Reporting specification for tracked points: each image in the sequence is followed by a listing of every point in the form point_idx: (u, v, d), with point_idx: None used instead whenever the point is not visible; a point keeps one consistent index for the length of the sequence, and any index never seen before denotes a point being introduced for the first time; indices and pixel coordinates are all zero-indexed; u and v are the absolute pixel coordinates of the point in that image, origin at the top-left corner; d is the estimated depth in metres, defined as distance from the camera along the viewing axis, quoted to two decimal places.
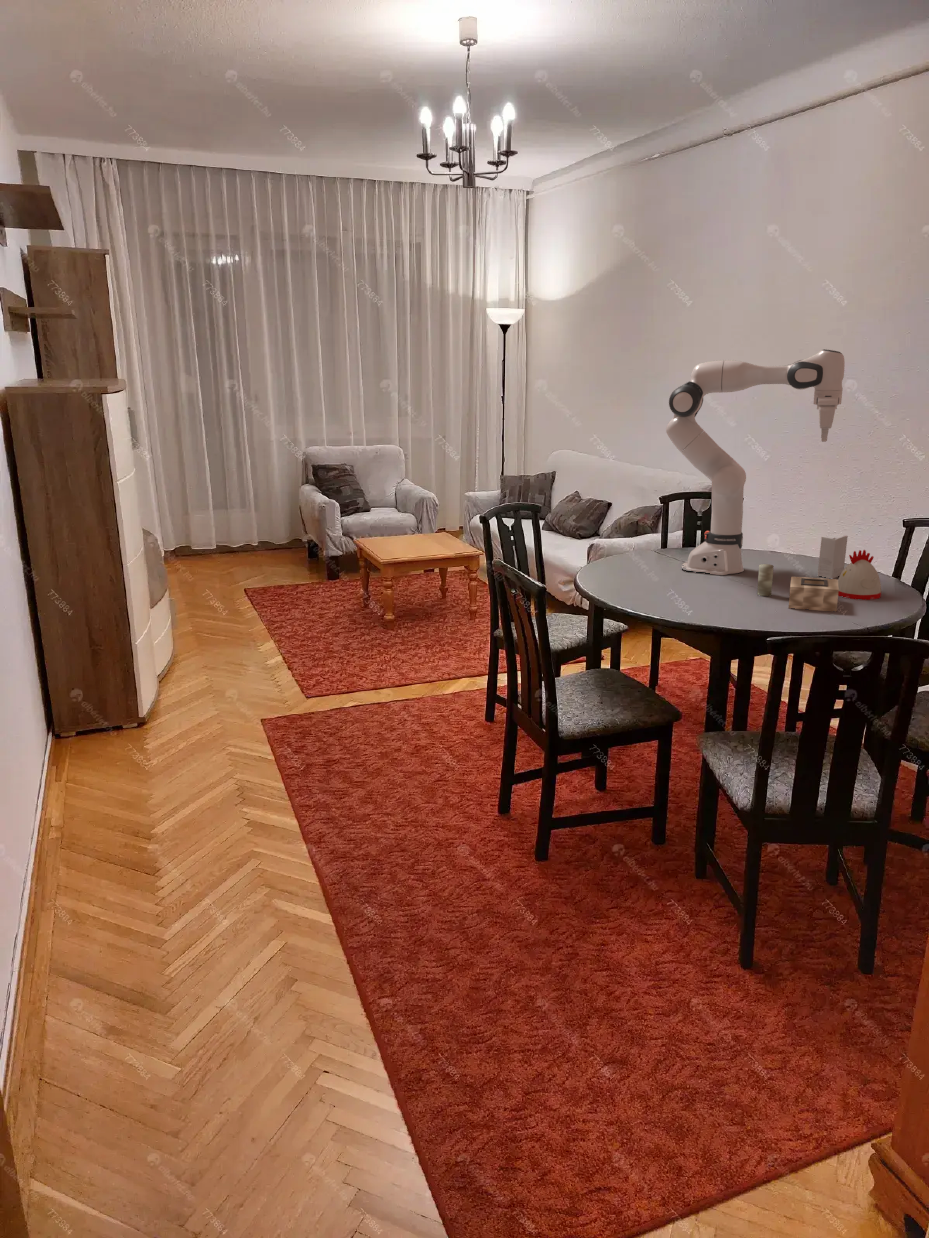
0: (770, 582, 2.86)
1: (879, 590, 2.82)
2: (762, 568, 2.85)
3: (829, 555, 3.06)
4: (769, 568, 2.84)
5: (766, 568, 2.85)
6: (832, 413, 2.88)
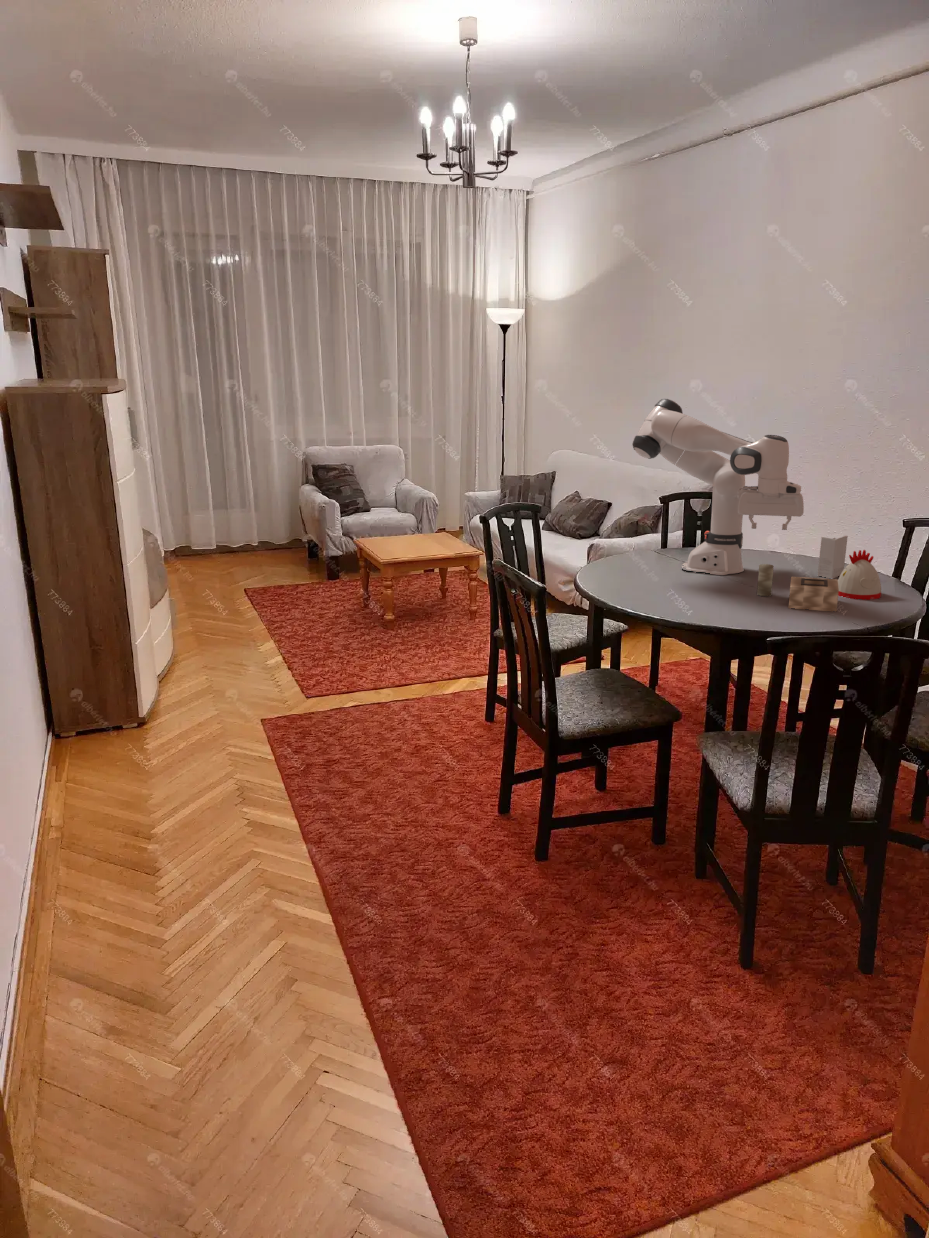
0: (770, 582, 2.86)
1: (879, 590, 2.82)
2: (762, 568, 2.85)
3: (829, 555, 3.06)
4: (769, 568, 2.84)
5: (766, 568, 2.85)
6: None
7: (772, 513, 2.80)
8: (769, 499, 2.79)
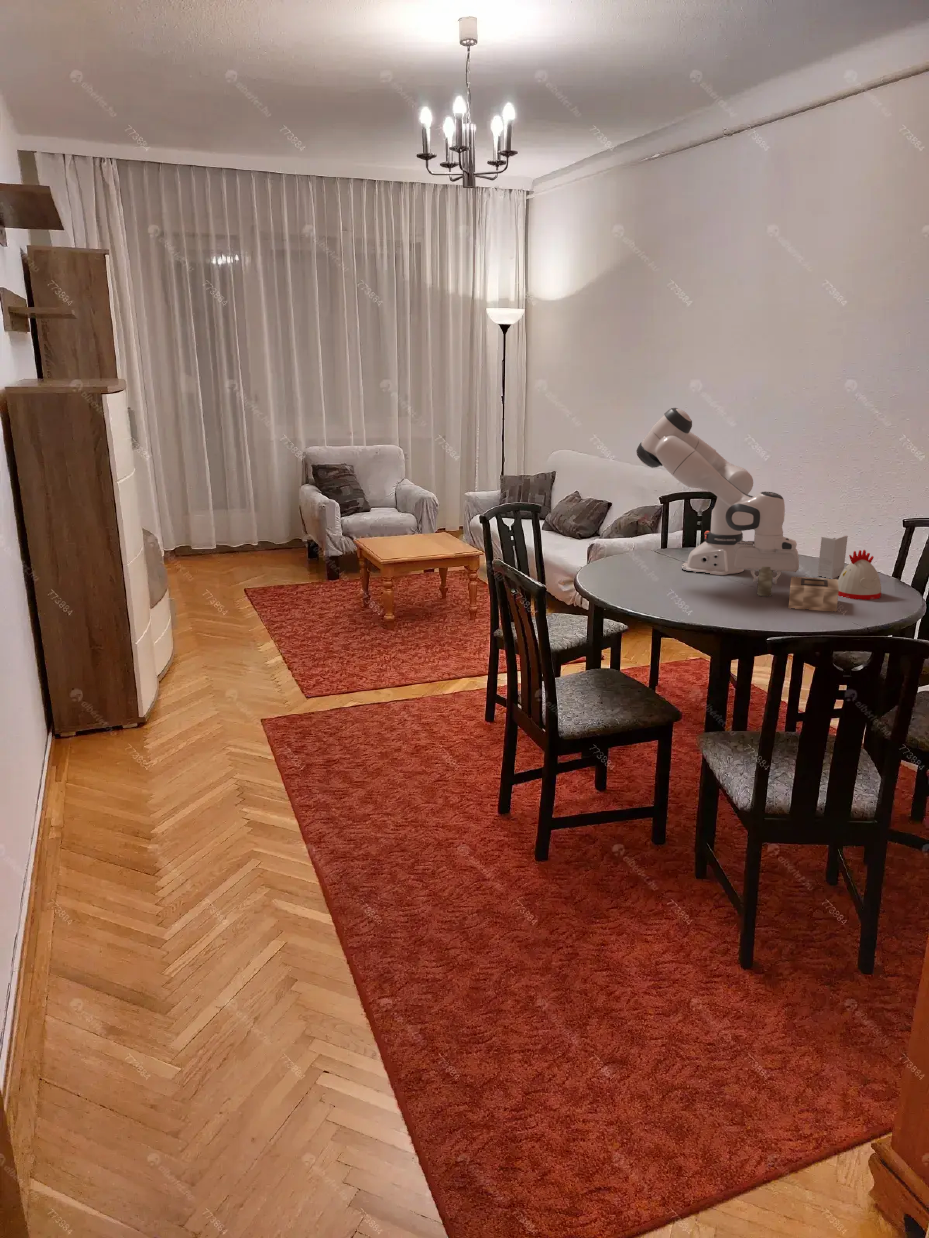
0: (770, 582, 2.86)
1: (879, 590, 2.82)
2: (762, 568, 2.85)
3: (829, 555, 3.06)
4: (769, 568, 2.84)
5: (766, 568, 2.85)
6: None
7: None
8: (765, 554, 2.84)
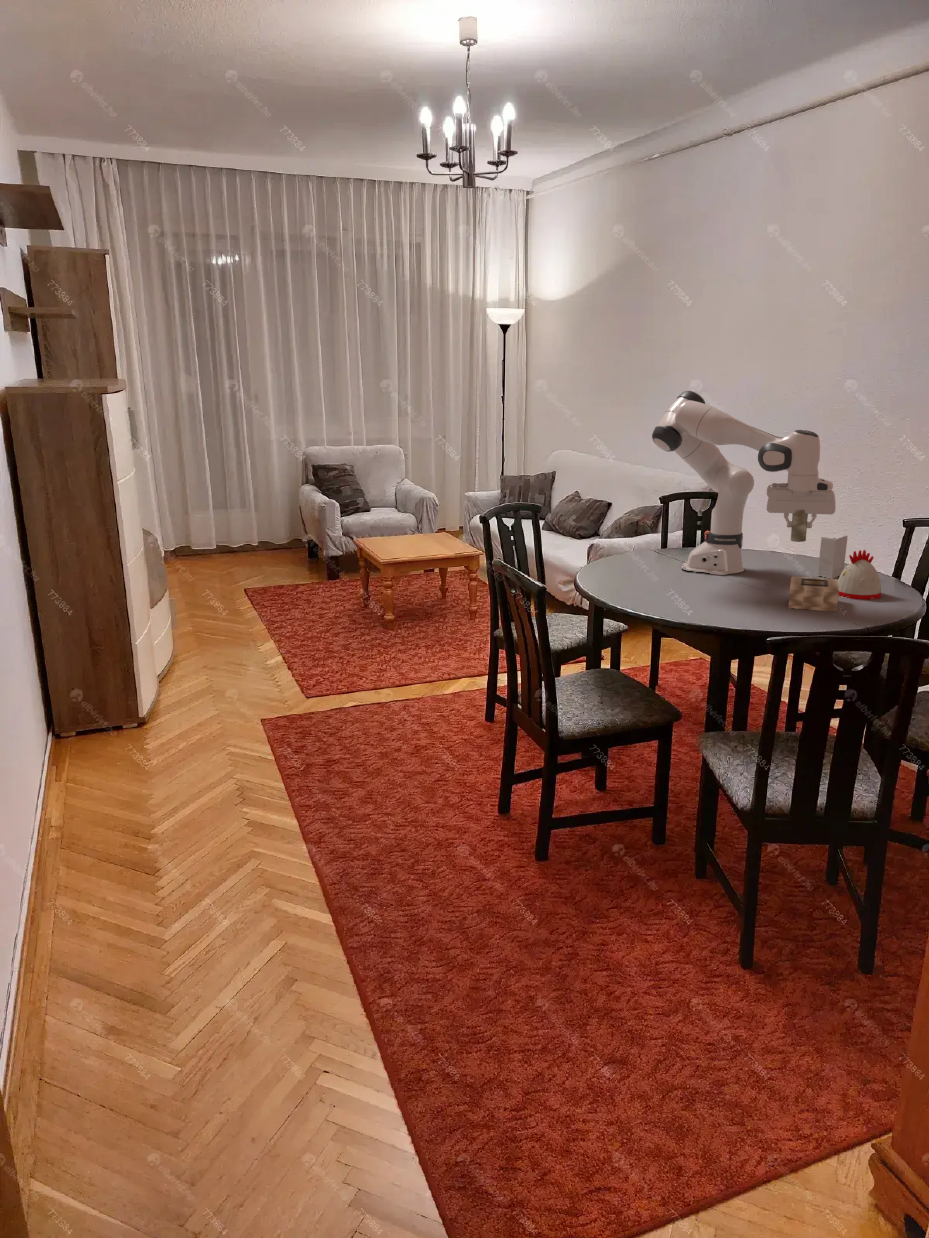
0: (804, 526, 2.71)
1: (879, 590, 2.82)
2: (796, 511, 2.71)
3: (829, 555, 3.06)
4: (803, 511, 2.70)
5: (800, 511, 2.70)
6: None
7: None
8: (799, 496, 2.69)
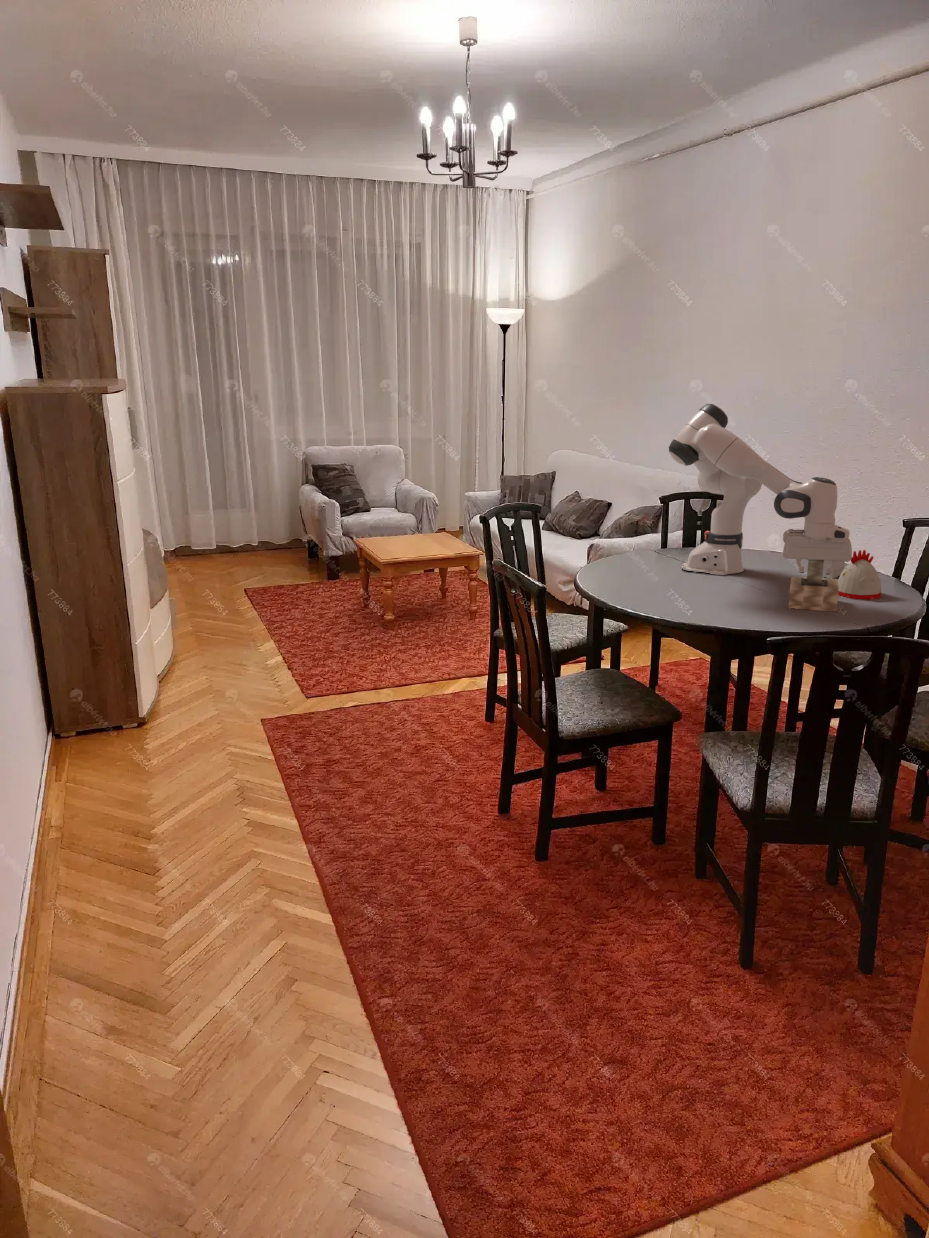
0: (820, 577, 2.72)
1: (879, 590, 2.82)
2: (812, 562, 2.72)
3: None
4: (819, 562, 2.71)
5: (816, 562, 2.71)
6: None
7: (819, 557, 2.71)
8: (816, 543, 2.70)
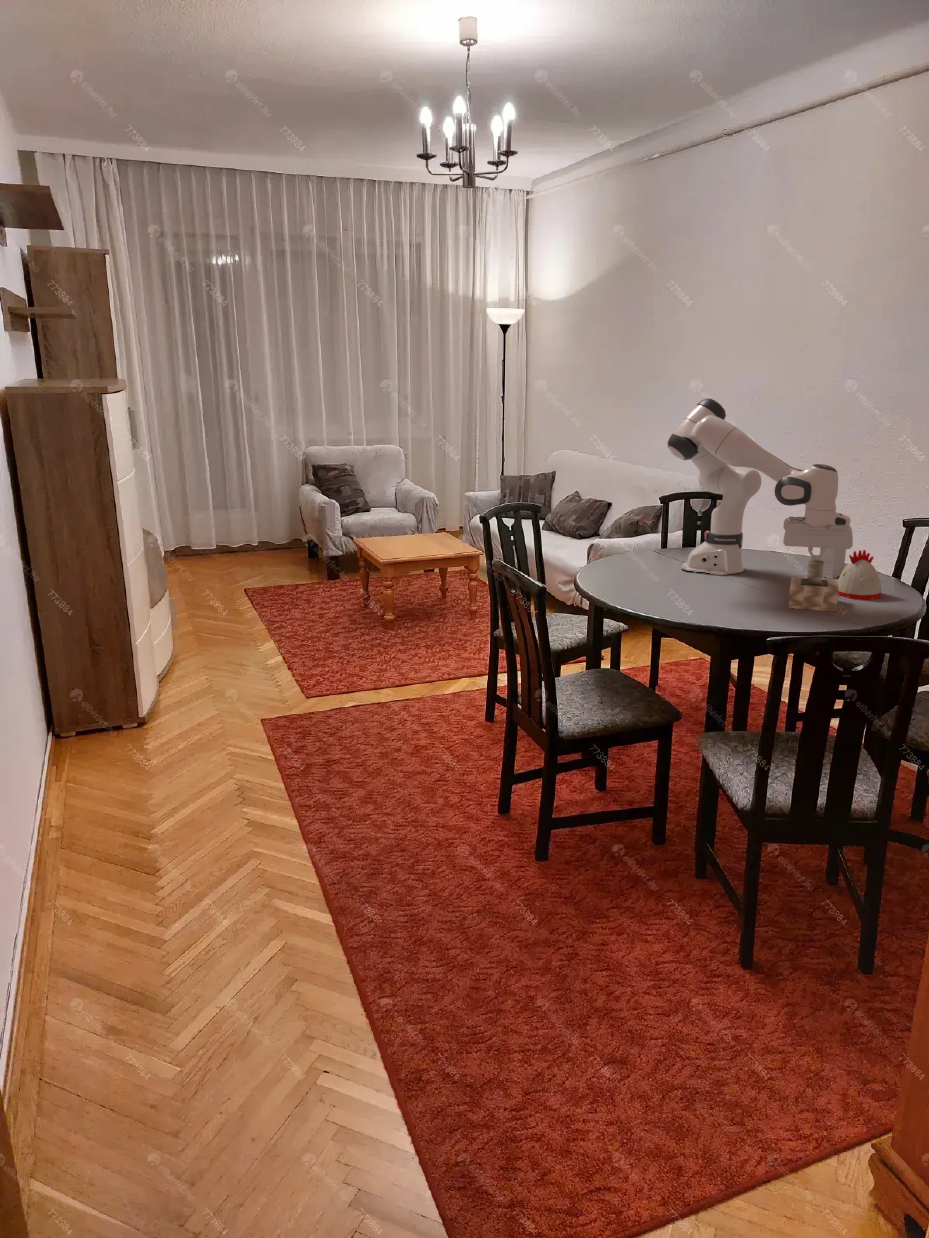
0: (820, 578, 2.72)
1: (879, 590, 2.82)
2: (812, 564, 2.72)
3: (829, 555, 3.06)
4: (819, 564, 2.71)
5: (816, 564, 2.71)
6: None
7: (819, 545, 2.69)
8: (817, 530, 2.69)
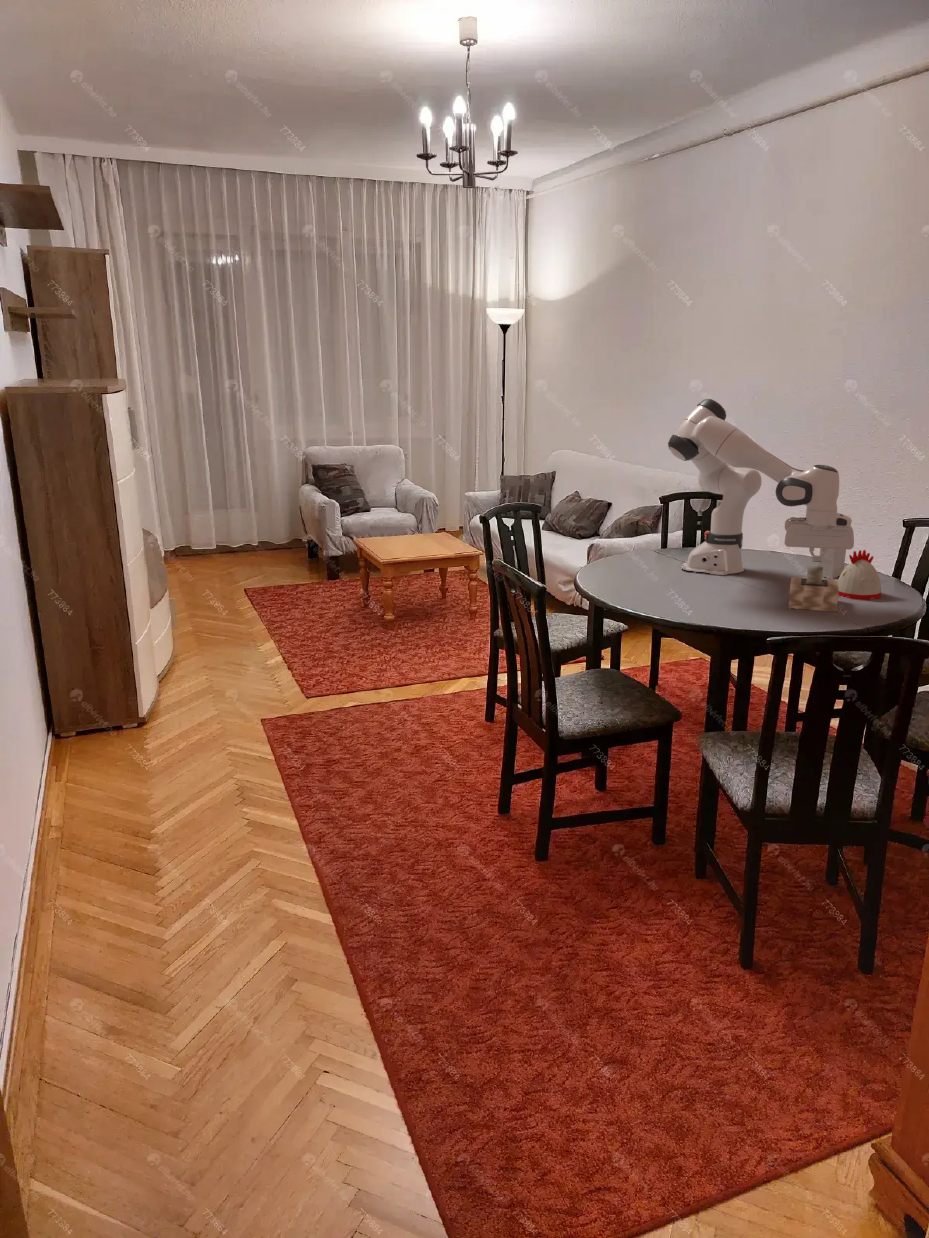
0: None
1: (879, 590, 2.82)
2: (811, 570, 2.72)
3: (829, 555, 3.06)
4: (819, 570, 2.71)
5: (815, 570, 2.71)
6: None
7: (821, 545, 2.70)
8: (818, 531, 2.69)
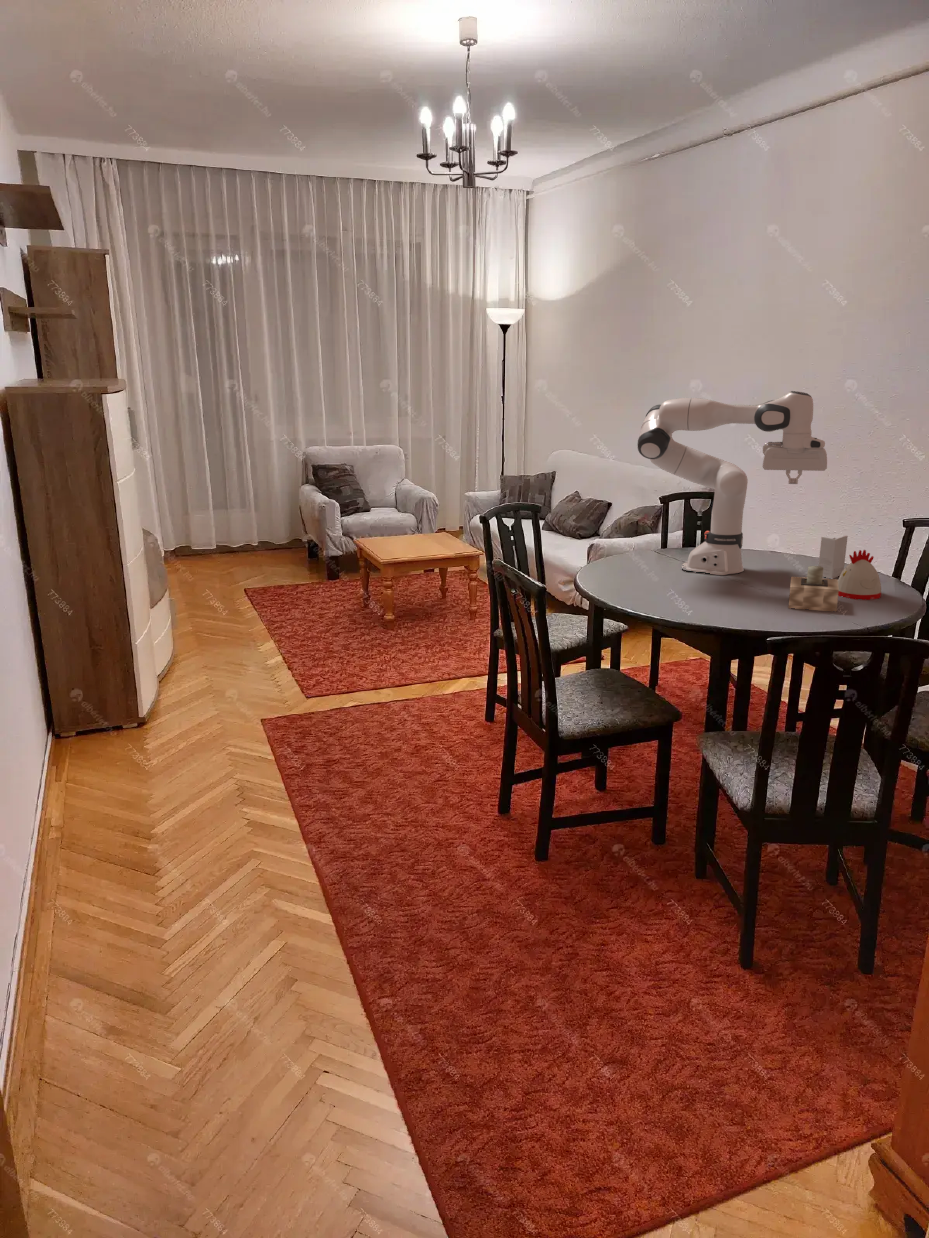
0: None
1: (879, 590, 2.82)
2: (811, 570, 2.72)
3: (829, 555, 3.06)
4: (819, 570, 2.71)
5: (816, 570, 2.71)
6: None
7: (796, 468, 2.87)
8: (793, 454, 2.87)
